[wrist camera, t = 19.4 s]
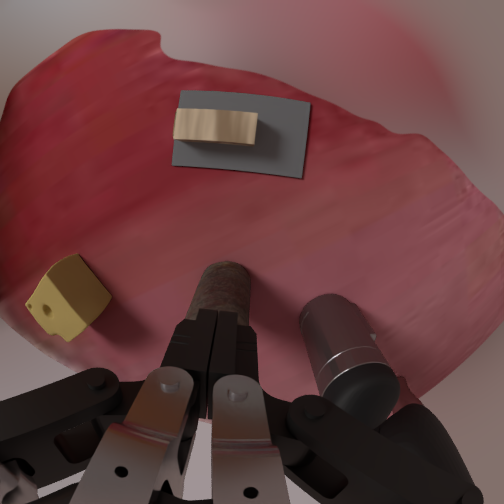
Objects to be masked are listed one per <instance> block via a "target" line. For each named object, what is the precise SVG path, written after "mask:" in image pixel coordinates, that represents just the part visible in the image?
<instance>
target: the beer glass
mask: <svg viewBox="0 0 504 504" xmlns="http://www.w3.org/2000/svg"><path fill="white" fill-rule="evenodd" d="M397 379H398V381H399V383H400V396H399V399H398V401H397V403H396V405H395V407H394V408H393V410H392V412H393V414H395V413H396V412H397V411H399V410H400V409H401V408H403V407H404V406H406V405H408V404H412V403H417V404H420V405H423V404H422V402H421V401H420V400H419V399H418V398H417V397H416V396H415V395H414V394H413V393H412V392H411V391H410V389H409V387H408V385H407V382H406V379H405V378H404V377H401V376H400V377H397ZM423 406H424V405H423ZM424 407H425V406H424Z"/></svg>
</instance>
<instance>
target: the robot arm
mask: <svg viewBox="0 0 504 504" xmlns="http://www.w3.org/2000/svg"><path fill="white" fill-rule="evenodd" d="M237 322H238V312H230V311H221V310H220V311H219V316H218V310H211V309H203V308H199V311H198V314H197V317H196V320H190V319H184V320H183V321H181V322H180V323H179V324H178V325H177V326H176V328H175V331H174V333H173V335H172V338H171V340H170V343H169V346H168V348H167V351H166V353H165V356H164V358H163V361H162V363H161V366H160V368H157V369H155V370H153V371H152V372H151V373H149V375H148V376H147V378H146V380H143V381H136V382H119V380H118V377H117V376H116V375H115V374H114V373H113V372H112V371H110V370H108V369H105V368H91V369H87V370H85V371H82V372H80V373H77V374H75V375H72V376H69V377H67V378H65V379H62V380H59V381H56V382H54V383H51V384H48V385H46V386H43V387H41V388H38V389H35V390H32V391H29V392H26V393H23V394H21V395H18V396H15V397H12V398H9V399H6V400H3V401H0V504H290V500H289V495H288V490H287V485H286V480H285V475H286V476H287V477H288V478H289V479H290V480H291V481H293V482H294V483H295V484H296V485H297V486H299V487H300V488H301V489H302V490H304V491H305V492H306V493H308V494H309V495H310V496H311V497H313V498H314V499H315V500H316V501H318V502H319V503H321V504H483V502H484V501H483V495H482V493H481V491H480V490H479V488H478V487H476V486H475V484H474V482H473V480H472V478H471V476H470V474H469V472H468V470H467V468H466V466H465V464H464V462H463V460H462V458H461V456H460V454H459V452H458V450H457V448H456V446H455V444H454V443H453V441H452V439H451V437H450V436H449V434H448V432H447V431H446V429H445V428H444V426H443V425H442V423H441V422H440V421H439V420H438V419H437V417H436V416H435V415H434V414H432V412H431V411H430V410H429V409H427V408H426V407H424V406H423V405H420V404H417V403H412V404H408V405H406V406H404V407H403V408H401V409H400V410H399V411H397V412H396V413H395V414H393V415H392V416H391V417H389V418H388V419H387V417H388V416H389V414H390V413H391V411H392V410H393V408H394V407H395V405H396V403H397V401H398V399H399V396H400V383H399V381H398V379H397V377H396V375H395V373H394V372H393V370H392V369H391V367H390V365H389V364H388V362H387V361H386V359H385V357H384V356H383V354H382V353H381V351H380V350H379V348H378V346H377V345H376V343H375V339H376V334H375V332H374V331H373V329H372V328H371V326H370V325H369V323H368V322H367V320H366V319H365V317H364V316H363V315H362V313H361V312H360V310H359V309H358V307H357V306H356V305H355V304H353V303H349V302H348V301H347V300H346V299H345V298H343V297H342V296H339V295H336V294H325V295H322V296H318V297H317V298H315V299H313V300H312V301H310V302H309V303H308V304H307V305H306V306H305V307H304V309H303V311H302V312H301V315H300V320H299V324H300V329H301V333H302V335H303V339H304V342H305V346H306V349H307V353H308V356H309V359H310V363H311V366H312V370H313V373H314V377H315V380H316V383H317V387H318V390H319V394H320V396H317V395H304V396H301V397H298V398H296V399H295V400H294V401H293V402H292V403H291V402H287V401H284V400H280V399H277V398H274V397H272V396H270V395H269V394H267V393H266V392H265V391H264V390H263V389H262V388H261V386H260V384H259V377H258V356H257V336H256V333H255V332H254V330H253V329H252V327H251V326H244V325H237ZM207 406H208V419H212V440H211V443H212V444H211V469H212V470H211V471H212V472H211V473H212V474H211V478H212V499H207V500H193V501H188V500H183V499H182V497H183V488H184V479H185V475H186V470H187V467H188V463H189V459H190V456H191V452H192V448H193V444H194V440H195V436H196V430H197V425H198V419H199V418H203V419H206V413H207ZM386 419H387V420H386ZM64 431H65V432H64ZM85 469H86V470H85ZM83 470H85V472H84V474H83V476H82V478H81V480H80V482H78V483H74V484H71V485H69V486H67V487H64V488H62V489H60V490H58V491H56V492H53V493H51V494H49V495H47V496H44V497H42V498H39V497H38V494H37V489H39V488H41V487H44V486H47V485H49V484H52V483H55V482H57V481H60V480H62V479H65V478H67V477H69V476H72V475H74V474H76V473H79V472H81V471H83Z"/></svg>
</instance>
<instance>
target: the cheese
mask: <svg viewBox="0 0 504 504" xmlns="http://www.w3.org/2000/svg"><path fill="white" fill-rule="evenodd" d="M111 298H112V296H111V294H110V293H109V292H108V291H107V290H106V289H105V287H104V286H103V285H102V284H101V282H100V281H99V280H98V279H97V277H96V276H95V275H94V274H93V273H92V271H91V270H90V269H89V268H88V267H87V265H86V264H85V263H84V261H83V260H82V259H81V257H80V256H79V254H74V255H70V256H68V257H66V258H64V259H62V260H60V261H58V262H57V263H55V264H54V265H53V266H52V267H51V268H50V269H49V270H48V272H47V273H46V274H45V275H44V277H43V278H42V279H41V281H40V283H39V284H38V286H37V288H36V290H35V291H34V293H33V294H32V296H31V297H30V298H29V300H28V301H27V302H26V304H25V305H26V306H27V308H28V309H29V311H30V312H31V314H32V315H33V316H34V318H35V319H36V320H37V322H38V323H39V324H40V325H41V326H42V327H43V329H44V330H45V331H46V332H47V333H48V334H50V335H57V334H58V335H60V336H61V337H62V338H63V339H64V340H65V341H67V342H70V341H71V340H72V339H73V338H75V337H76V336H77V335H79V334H80V333H81V332H83V331H84V330H85V329H86V328H87V327H88V326H89V325H90V324H91V323H92V322H93V321H94V320H95V319H96V318H97V317H98V316H99V315H100V314H101V313H102V312H103V310H104V309H105V308H106V306H107V305H108V303H109V301H110V300H111Z"/></svg>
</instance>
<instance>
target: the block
mask: <svg viewBox="0 0 504 504" xmlns="http://www.w3.org/2000/svg"><path fill="white" fill-rule="evenodd" d="M257 117H258V113H252V112H242V111H229V110H214V109H184V108H177V112H176V113H175V120H174V128H173V136H174V137H173V139H175V140H178V141H184V142H205V143H220V144H232V145H243V146H253V147H254V142H255V134H256V125H257Z"/></svg>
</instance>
